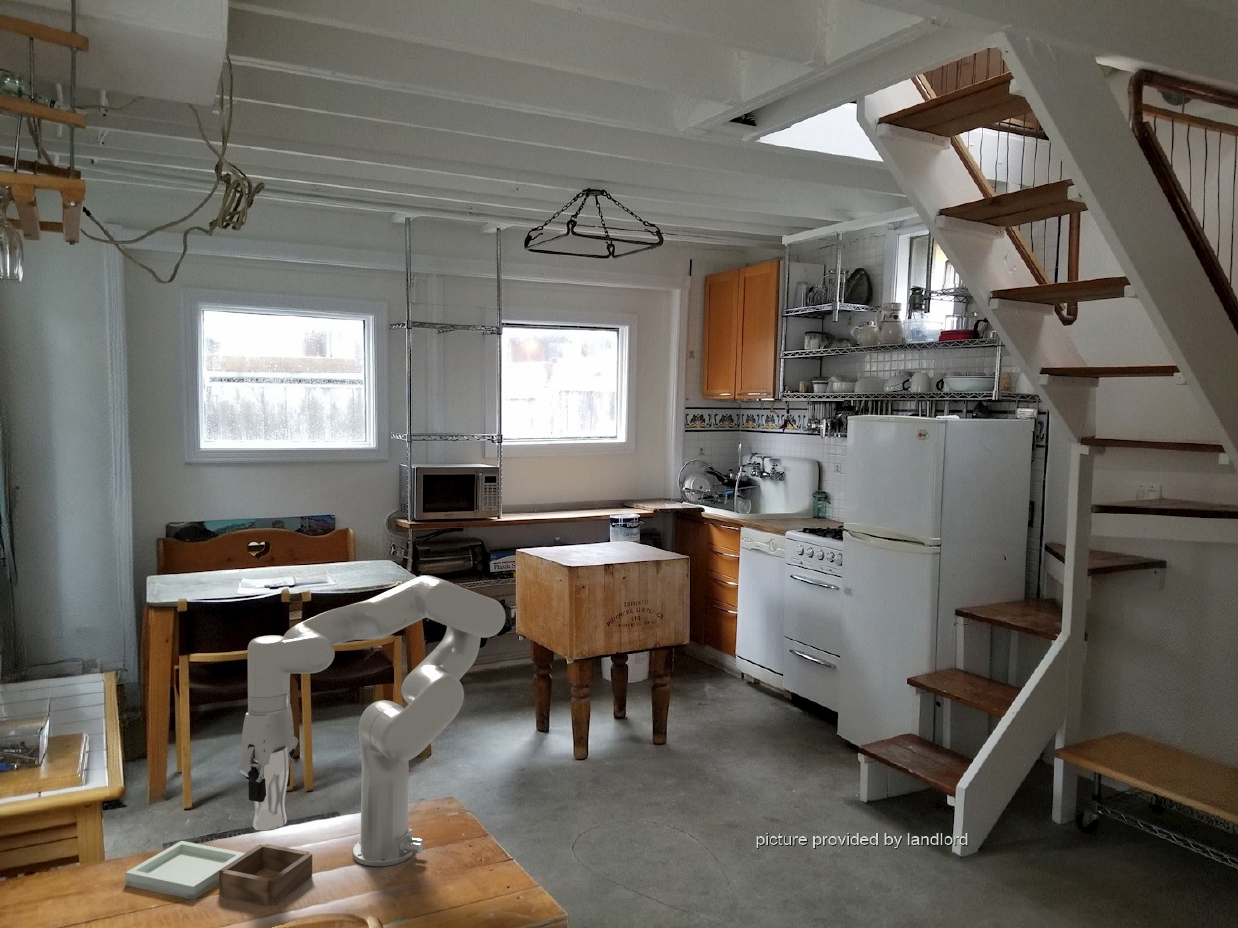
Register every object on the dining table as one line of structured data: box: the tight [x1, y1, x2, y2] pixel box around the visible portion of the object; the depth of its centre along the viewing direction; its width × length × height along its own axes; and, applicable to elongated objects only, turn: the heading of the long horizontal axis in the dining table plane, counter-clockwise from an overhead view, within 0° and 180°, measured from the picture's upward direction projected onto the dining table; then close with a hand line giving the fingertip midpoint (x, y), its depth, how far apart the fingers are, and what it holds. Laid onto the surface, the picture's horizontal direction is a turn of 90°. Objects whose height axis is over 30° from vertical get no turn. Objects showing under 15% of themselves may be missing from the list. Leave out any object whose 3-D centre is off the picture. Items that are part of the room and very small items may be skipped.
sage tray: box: [124, 840, 246, 901], centre depth 174 cm, size 16×14×2 cm
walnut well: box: [218, 843, 313, 906], centre depth 171 cm, size 12×12×4 cm
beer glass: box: [252, 745, 289, 832], centre depth 170 cm, size 7×7×15 cm
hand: (269, 792), depth 170 cm, fingers closed on beer glass, 6 cm apart
